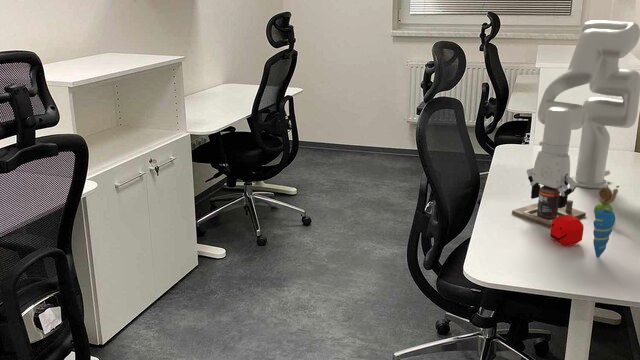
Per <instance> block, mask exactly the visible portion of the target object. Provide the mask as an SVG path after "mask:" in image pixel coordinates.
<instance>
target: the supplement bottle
mask: <svg viewBox="0 0 640 360" xmlns="http://www.w3.org/2000/svg"><path fill="white" fill-rule="evenodd" d="M560 195H561V193H560V192H559V190H558V189H554V188H551V187H548V186H545V185H542V186H540V191H539V197H538V202H537V203H538V208H537V215H538V216H539V217H542V218H545V219H554V218H556V217H557V213H558V200H559V196H560Z"/></svg>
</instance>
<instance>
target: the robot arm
mask: <svg viewBox="0 0 640 360" xmlns="http://www.w3.org/2000/svg"><path fill="white" fill-rule="evenodd" d="M580 31H581V32H580V33H581V34H580V35H579V37H578V39H577V42H576V46H575V48H574V51H573V54H572V56H571V57H572V58H571V60H570V62H569V65H568V68H567V70H566V71H565V72H563V73H562V74H560V75H559V76H557V77H556V78H555V79H554V80H553V81H551V83H550V84H548V86H547V87H546V88H545V90H544V91H543V92H544V93H543V94H542V97H541V101H540V104H539V106H538V110H537V119H538V121H539V122H540V123H541V124H542V125H544V127H543V136H542V137H543V138H542V141H540V142H539V143H538V144H539V146H541V149H540V150H538V153H537V154H536V155H537V156H536V159H535V161H534V166H533V168H529V169H526V173H527V179H528V182H529V183H530V184H529V185H530V186H531V192H530V198H531V200H533V199H534V200H535V199H536V198H538V199H539V191H540V188H541V185H542V186H544V185H545V186H548V187H551V188H554V189H558V190H559V192H560V196H559V200H558V208H563V207H565V206H566V204H567V200H568V199H569V198H568V197H569V195H571V194H572V193H573V192H574V191H575V190H576V188H577V187H581V188H585V189H601V188H602V187H608V185H609V183H608V181H607V180H606V179H605V177H607V176H610V174H611V171H610V170H608V169H607V170H606V166H607V160H608V154H609V148H610V141H611V135H610V133H609V131H608V129H607V128H606V127H611V128H612V127H614V128H622V129H629V128H631V127H633V126H634V125H635V123H636V121H637V118H638V111H639V102H640V72H638V71H636V70H635V69H629V68H620V67H619V62H620V61H619V60H620V59H623V58H624V57H626V56H627V55H628V54H629V53H631V51H633V50H634V48H635V47H636V46H637V44H638V42H639V40H640V26H639V24H638V23H636V22H633V21H618V20H617V21H616V20H601V19H600V20H589V21H586V22H584V23H583V24H582V27H581V30H580ZM588 84H589V90H590V92H591V93H592V94H595V95H599V96H592V97H589V98H587V99H586V100H584V102H583V104H578V103H572V102H571V103H570V102H564V101H557V100H555V99H556V98H557V97H558V96H559V95H560V94H562V93H564V92H565V91H568V90H571V89H575V88H577V87H580V86H584V85H588ZM602 96H606V97H602ZM610 97H611V98H610ZM613 97H614V98H613ZM618 98H619V99H618ZM620 98H621V99H620ZM580 129H581V133H580V135H581V136H580V143H579V148H578V155H577V164H576V169H575V175H573V176H570V175H571V157H570V155H569V149H570V142H571V137H572V136H571V135H572V130H580ZM568 186H569V187H568Z"/></svg>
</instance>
